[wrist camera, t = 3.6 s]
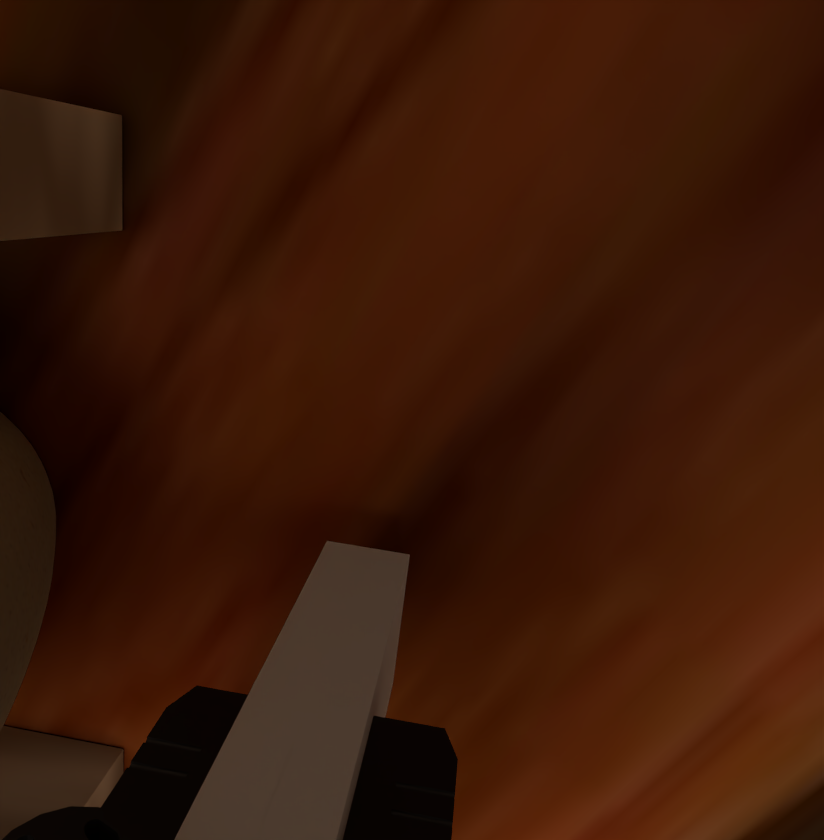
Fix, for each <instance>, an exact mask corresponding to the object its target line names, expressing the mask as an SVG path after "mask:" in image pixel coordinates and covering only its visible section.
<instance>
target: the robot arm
mask: <svg viewBox="0 0 824 840" xmlns="http://www.w3.org/2000/svg"><path fill="white" fill-rule="evenodd" d="M409 558H410V554H404V553H398V552H392V551H386V550H380V549H374V548H367V547H361V546H355V545H349V544H343V543H337V542H331V541H327V542H326V544H325V546H324V548H323V550H322V552H321V554H320V556H319V557H318V559H317V561H316V563H315V565H314V567H313V569H312V571H311V573H310V575H309V577H308V579H307V581H306V583H305V585H304V587H303V589H302V591H301V593H300V595H299V597H298V599H297V601H296V602H295V604H294V606H293V608H292V610H291V612H290V614H289V616H288V618H287V620H286V622H285V624H284V626H283V628H282V630H281V632H280V634H279V636H278V638H277V640H276V642H275V644H274V646H273V647H272V649H271V651H270V653H269V655H268V657H267V659H266V661H265V663H264V665H263V667H262V669H261V671H260V673H259V675H258V677H257V679H256V681H255V683H254V685H253V687H252V689H251V691H250V693H249V694H248V695H245V694H240V693H234V692H229V691H223V690H218V689H213V688H207V687H202V686H196V687H194V688H193V689H192V690H190V691H189V692H187V693H186V694H185V695H183V696H182V697H180V698H179V699H178V700H176V701H175V702H174V703H172V704H171V705H169V706H168V707H167V708H166V709H165V711H164V712H163V714H162V715H161V717H160V718H159V720H158V721H157V723H156V724H155V726H154V727H153V729H152V730H151V732H150V733H149V735H148V736H147V741H146V743H143V744H142V746H141V747H140V749H139V750H138V752H137V753H136V755H135V756H134V758H133V759H132V761H131V765H130V767H129V768H126V770H125V771H124V773H123V774H122V776H121V777H120V779H119V781H118V782H117V784H116V785H115V787H114V788H113V790H112V791H111V793H110V794H109V796H108V797H107V799H106V800H105V802H104V803H103V805H102V806H101V808H100V807H78V806H70V807H66V808H62V809H58V810H55V811H51V812H47V813H43V814H40V815H38V816H36V817H35V818H33V819H31V820H29V821H27V822H26V823H24V824H22V825H20V826H18V827H16V828H15V829H13V830H11V831H10V832H9V833H8V834H7V835H6V836H5V837H4V838H3V839H2V840H451V836H452V822H453V810H454V796H455V785H456V773H457V760H458V759H457V757H456V754H455V752H454V750H453V747H452V745H451V742H450V740H449V737H448V735H447V733H446V730H445V729H444V728H439V727H433V726H428V725H422V724H417V723H412V722H406V721H401V720H395V719H390V718H385V717H386V712H387V708H388V703H389V699H390V694H391V690H392V685H393V679H394V672H395V664H396V657H397V649H398V641H399V634H400V626H401V619H402V611H403V603H404V596H405V588H406V581H407V573H408V565H409Z"/></svg>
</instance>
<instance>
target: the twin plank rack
mask: <svg viewBox="0 0 824 840" xmlns="http://www.w3.org/2000/svg"><path fill="white" fill-rule="evenodd" d="M110 231H122V115H119V114H114V113H110V112H105V111H100V110H96V109H91V108H86V107H82V106H77V105H73V104H68V103H63V102H59V101H54V100H49V99H45V98H40V97H36V96H31V95H26V94H22V93H17V92H12V91H8V90H3V89H0V241H7V240H18V239H30V238H41V237H53V236H64V235H76V234H87V233H99V232H110ZM122 774H123V749H120V748H115V747H110V746H105V745H100V744H94V743H89V742H84V741H79V740H74V739H69V738H64V737H58V736H53V735H48V734H43V733H38V732H33V731H28V730H22V729H17V728H12V727H7V726H3V727H2V729H1V731H0V840H2V839H3V838H4V837H5V836H6V835H7V834H8V833H9V832H10V831H11V830H13V829H15V828H16V827H18V826H20V825H22V824H24V823H26V822H27V821H29V820H31V819H33V818H35V817H36V816H38V815H40V814H43V813H47V812H51V811H55V810H58V809H62V808H66V807H70V806H78V807H100V808H101V806H102V805H103V803H104V802H105V800H106V799H107V797H108V796H109V794H110V793H111V791H112V790H113V788H114V787H115V785H116V784H117V782H118V781H119V779H120V777H121V776H122Z"/></svg>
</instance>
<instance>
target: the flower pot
mask: <svg viewBox="0 0 824 840" xmlns="http://www.w3.org/2000/svg"><path fill="white" fill-rule="evenodd" d="M55 545H56V510H55V503H54V496H53V492H52V488H51V485H50V482H49V479H48V476H47V474H46V471H45V469H44V467H43V464H42V462H41V460H40V458H39V457H38V455H37V453H36V451H35V450H34V448H33V447H32V445H31V444H30V442H29V441H28V440H27V439H26V437H25V436H24V435H23V434H22V432H21V431H20V430H19V429H18V428H17V427H16V426H15V425H14V424H13V423H12V422H11V421H10V420H9V419H8V418H7V417H6V416H5V415H3V414H2V413H1V412H0V731H1V729H2V727H3V725H4V723H5V721H6V719H7V717H8V714H9V712H10V710H11V708H12V705H13V703H14V701H15V698H16V696H17V693H18V691H19V688H20V686H21V683H22V681H23V679H24V676H25V673H26V671H27V668H28V665H29V662H30V659H31V656H32V653H33V650H34V647H35V645H36V641H37V638H38V635H39V631H40V628H41V624H42V621H43V617H44V613H45V609H46V605H47V601H48V596H49V591H50V586H51V580H52V574H53V564H54V556H55Z"/></svg>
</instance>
